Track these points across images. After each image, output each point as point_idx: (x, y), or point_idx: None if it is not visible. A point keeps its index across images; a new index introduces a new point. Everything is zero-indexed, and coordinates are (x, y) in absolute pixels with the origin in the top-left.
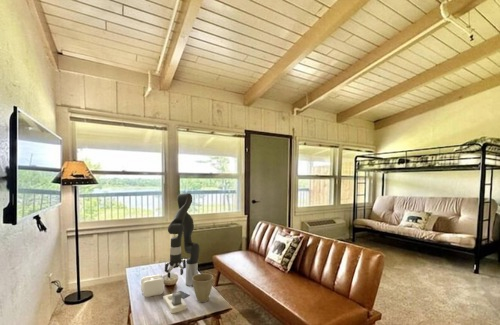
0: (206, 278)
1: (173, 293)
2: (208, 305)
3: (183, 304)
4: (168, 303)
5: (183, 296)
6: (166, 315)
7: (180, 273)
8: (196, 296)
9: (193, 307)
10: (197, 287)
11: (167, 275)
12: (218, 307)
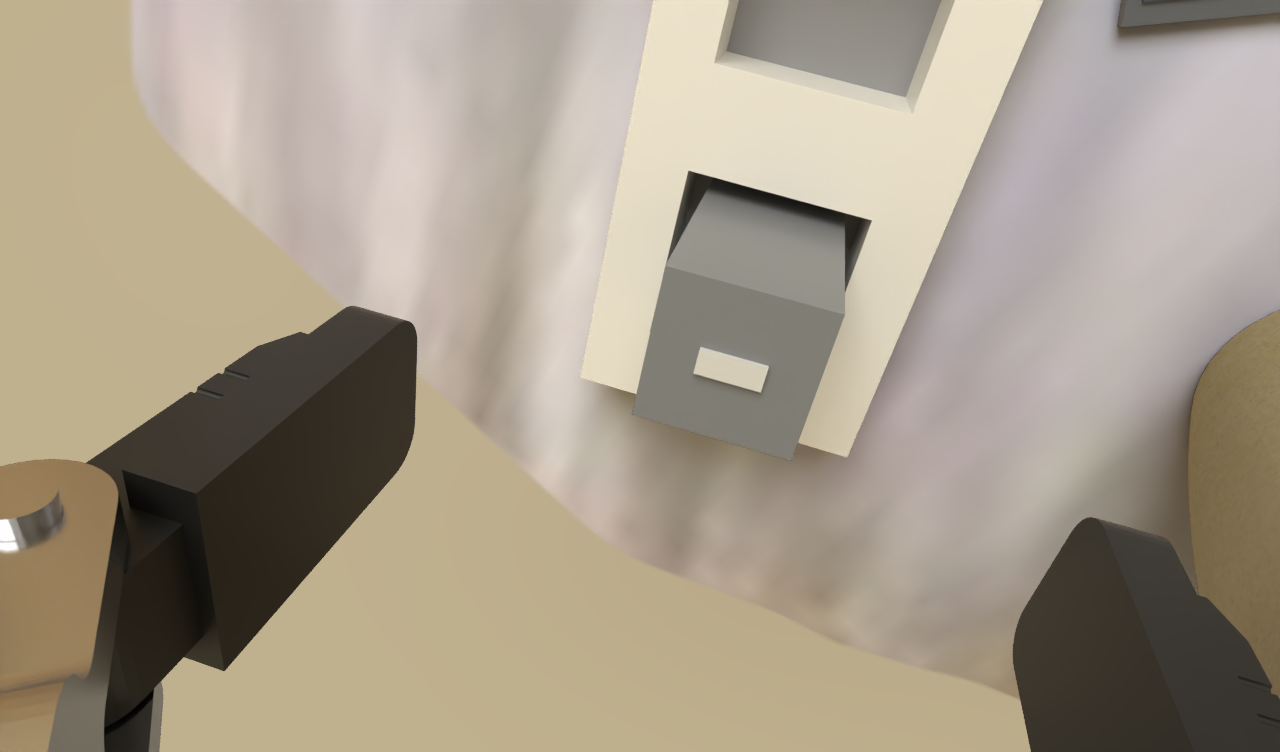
0: None
1: (674, 297)
2: None
3: (809, 416)
4: (625, 175)
5: None
6: (521, 326)
7: (1092, 559)
8: (1201, 425)
9: (963, 457)
10: None
11: (230, 371)
12: None
